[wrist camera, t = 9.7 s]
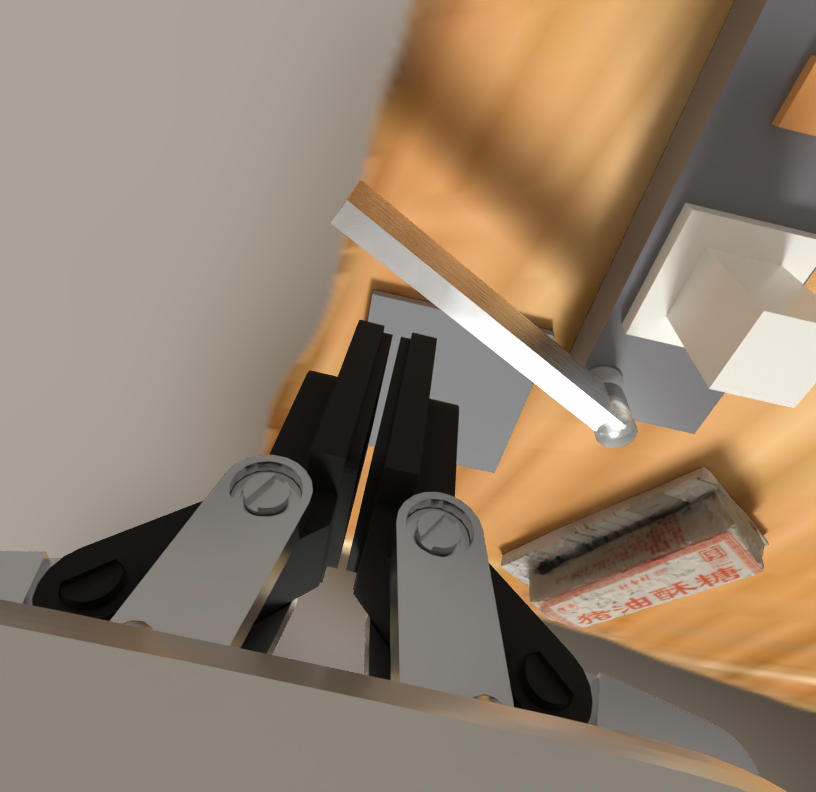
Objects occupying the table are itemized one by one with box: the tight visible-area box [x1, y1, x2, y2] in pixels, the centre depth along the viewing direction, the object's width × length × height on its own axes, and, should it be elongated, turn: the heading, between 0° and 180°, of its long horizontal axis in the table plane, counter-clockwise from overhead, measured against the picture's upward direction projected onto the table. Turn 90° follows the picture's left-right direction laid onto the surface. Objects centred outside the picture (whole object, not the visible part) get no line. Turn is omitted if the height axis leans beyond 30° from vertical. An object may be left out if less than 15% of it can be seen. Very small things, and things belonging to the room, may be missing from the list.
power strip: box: [569, 0, 816, 434], centre depth 25 cm, size 21×8×4 cm, turn 169°
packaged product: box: [501, 467, 768, 628], centre depth 41 cm, size 18×5×10 cm
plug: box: [622, 203, 816, 408], centre depth 24 cm, size 6×6×10 cm
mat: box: [368, 290, 554, 473], centre depth 34 cm, size 12×11×1 cm
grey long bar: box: [331, 180, 637, 448], centre depth 25 cm, size 18×2×3 cm, turn 52°
